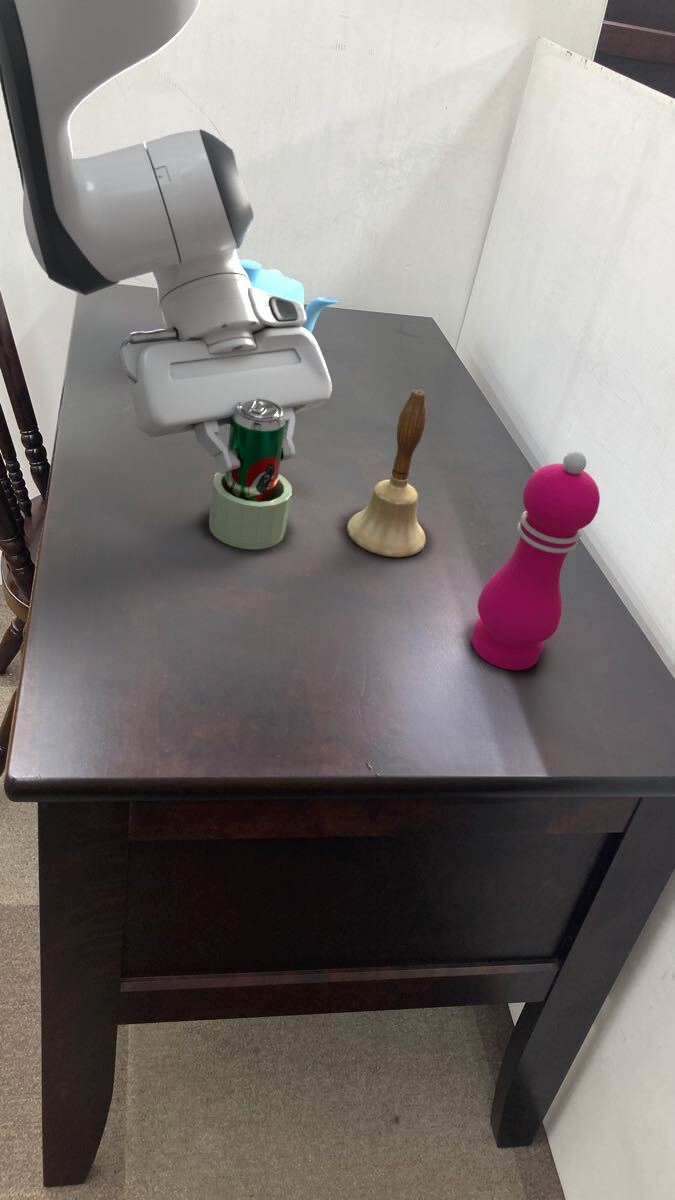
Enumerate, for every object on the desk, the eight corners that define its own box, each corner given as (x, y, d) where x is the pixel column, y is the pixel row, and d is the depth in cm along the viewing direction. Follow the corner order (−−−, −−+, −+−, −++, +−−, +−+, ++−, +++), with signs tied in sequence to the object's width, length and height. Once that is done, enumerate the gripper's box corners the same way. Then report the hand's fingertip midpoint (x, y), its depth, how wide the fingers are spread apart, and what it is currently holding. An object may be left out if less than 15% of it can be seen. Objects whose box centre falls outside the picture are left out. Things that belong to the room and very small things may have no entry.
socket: (224, 554, 85) (230, 509, 82) (197, 511, 90) (202, 467, 87) (296, 544, 88) (304, 501, 85) (267, 504, 93) (273, 462, 90)
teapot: (184, 387, 112) (193, 280, 104) (166, 334, 124) (173, 235, 116) (322, 393, 118) (341, 292, 110) (292, 343, 130) (307, 249, 122)
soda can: (279, 514, 90) (295, 406, 83) (259, 538, 86) (274, 427, 79) (233, 499, 91) (245, 390, 84) (212, 522, 87) (222, 410, 80)
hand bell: (356, 556, 88) (390, 409, 79) (339, 511, 95) (369, 370, 85) (434, 559, 91) (476, 416, 81) (413, 514, 97) (450, 377, 87)
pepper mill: (550, 680, 78) (634, 483, 66) (470, 668, 78) (541, 467, 66) (536, 628, 84) (611, 439, 72) (461, 617, 83) (526, 424, 72)
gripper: (125, 319, 75) (176, 475, 76) (316, 302, 87) (359, 438, 87) (100, 348, 80) (148, 494, 81) (283, 329, 92) (324, 456, 93)
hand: (259, 465), depth 84 cm, fingers closed on soda can, 5 cm apart
